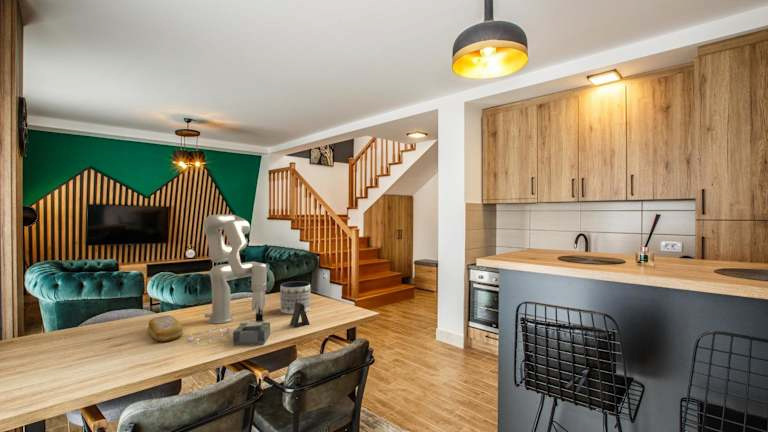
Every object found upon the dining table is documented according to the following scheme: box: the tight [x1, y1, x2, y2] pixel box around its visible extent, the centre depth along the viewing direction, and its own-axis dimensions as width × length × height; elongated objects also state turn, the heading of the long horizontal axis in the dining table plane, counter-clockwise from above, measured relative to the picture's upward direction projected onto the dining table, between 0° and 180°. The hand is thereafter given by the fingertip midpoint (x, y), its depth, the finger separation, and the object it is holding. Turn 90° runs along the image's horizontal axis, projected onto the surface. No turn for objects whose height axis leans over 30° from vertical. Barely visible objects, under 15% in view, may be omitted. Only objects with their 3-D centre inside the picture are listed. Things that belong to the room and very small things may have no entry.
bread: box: [147, 315, 184, 343], centre depth 185 cm, size 13×26×8 cm, turn 45°
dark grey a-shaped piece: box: [289, 302, 310, 328], centre depth 201 cm, size 9×6×12 cm, turn 126°
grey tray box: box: [239, 319, 271, 331], centre depth 183 cm, size 14×9×5 cm, turn 96°
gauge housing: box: [232, 322, 271, 347], centre depth 178 cm, size 14×14×6 cm
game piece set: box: [187, 325, 231, 345], centre depth 181 cm, size 19×20×4 cm
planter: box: [279, 280, 311, 315], centre depth 229 cm, size 18×18×16 cm
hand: (259, 322), depth 192 cm, fingers closed
